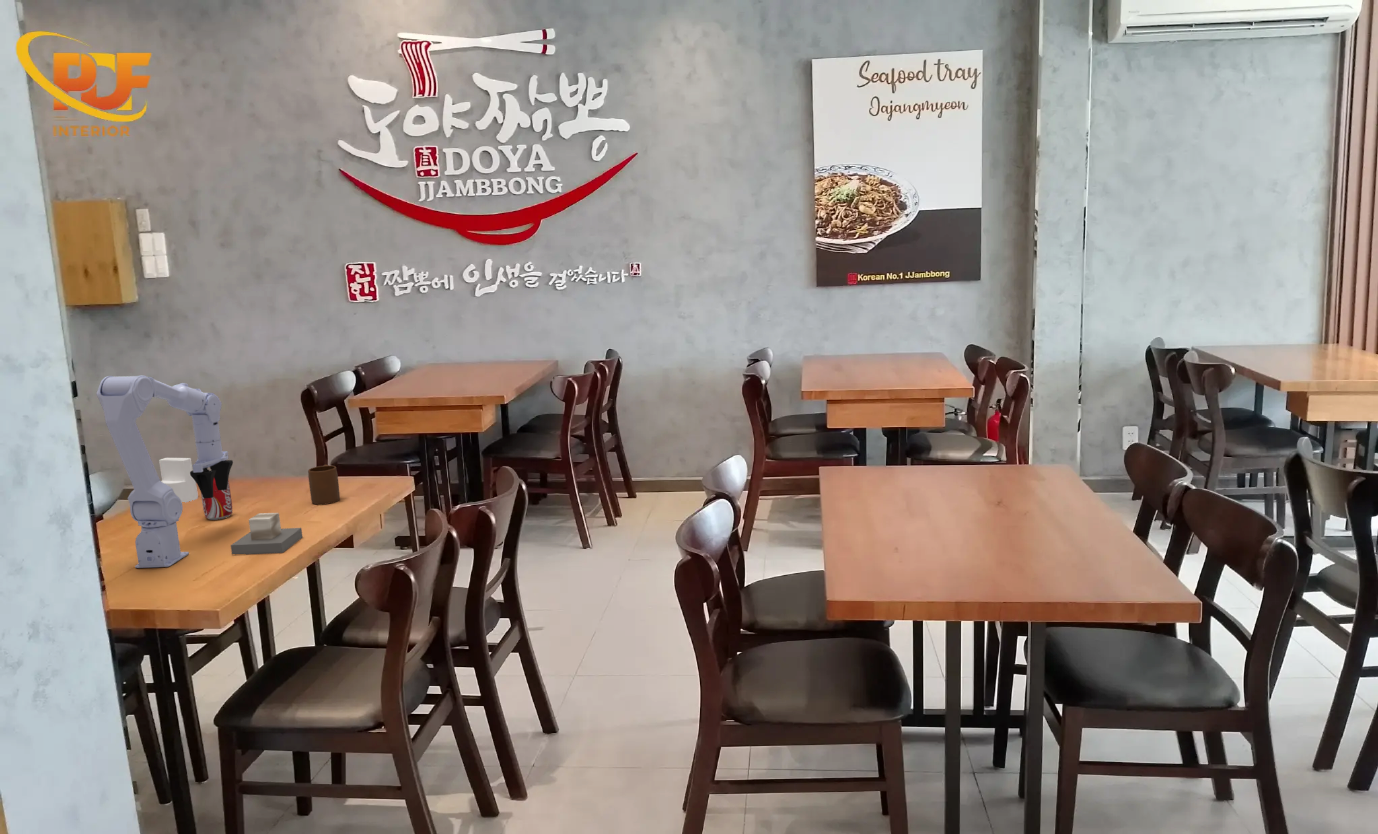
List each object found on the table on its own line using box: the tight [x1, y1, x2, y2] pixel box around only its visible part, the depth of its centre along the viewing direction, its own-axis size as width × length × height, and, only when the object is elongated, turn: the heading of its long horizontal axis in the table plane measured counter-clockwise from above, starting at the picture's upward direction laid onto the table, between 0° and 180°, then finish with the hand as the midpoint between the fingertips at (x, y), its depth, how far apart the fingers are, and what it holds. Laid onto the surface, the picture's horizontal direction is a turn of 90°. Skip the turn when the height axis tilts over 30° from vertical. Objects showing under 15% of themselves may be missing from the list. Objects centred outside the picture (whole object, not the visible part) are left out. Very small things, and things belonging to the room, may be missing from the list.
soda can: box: [200, 478, 233, 521], centre depth 273 cm, size 7×7×12 cm
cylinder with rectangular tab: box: [158, 457, 199, 503], centre depth 295 cm, size 9×9×12 cm
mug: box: [307, 463, 341, 505], centre depth 287 cm, size 12×8×9 cm, turn 11°
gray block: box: [248, 512, 282, 540], centre depth 245 cm, size 5×5×5 cm
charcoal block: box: [230, 527, 303, 555], centre depth 246 cm, size 12×12×3 cm
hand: (215, 493), depth 257 cm, fingers open, 7 cm apart
